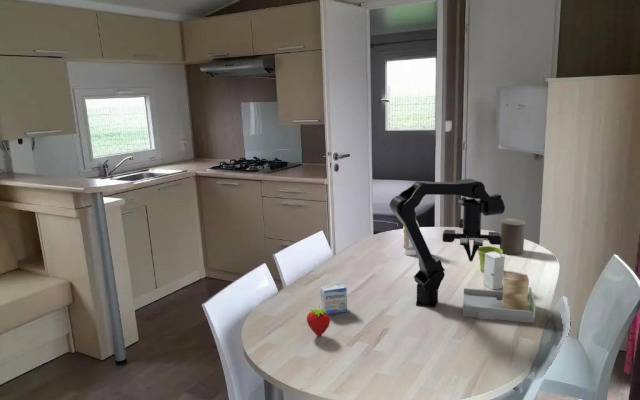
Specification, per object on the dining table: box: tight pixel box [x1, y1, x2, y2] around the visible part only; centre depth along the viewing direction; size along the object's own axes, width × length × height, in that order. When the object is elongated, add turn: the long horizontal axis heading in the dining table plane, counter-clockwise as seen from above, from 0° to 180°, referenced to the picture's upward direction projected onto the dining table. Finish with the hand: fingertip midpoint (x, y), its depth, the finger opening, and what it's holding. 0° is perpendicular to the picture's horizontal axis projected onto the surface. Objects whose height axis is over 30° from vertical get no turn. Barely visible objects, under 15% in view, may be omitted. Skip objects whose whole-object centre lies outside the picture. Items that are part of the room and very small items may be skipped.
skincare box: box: [482, 252, 506, 290], centre depth 173 cm, size 6×4×12 cm
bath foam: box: [402, 219, 420, 256], centre depth 210 cm, size 7×7×20 cm
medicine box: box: [320, 283, 348, 316], centre depth 159 cm, size 8×4×9 cm, turn 105°
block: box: [502, 272, 530, 311], centre depth 153 cm, size 7×5×10 cm
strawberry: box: [306, 305, 331, 337], centre depth 143 cm, size 6×8×10 cm
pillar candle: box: [499, 218, 526, 256], centre depth 207 cm, size 10×10×15 cm
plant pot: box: [476, 245, 503, 273], centre depth 188 cm, size 9×9×9 cm
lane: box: [462, 286, 537, 324], centre depth 155 cm, size 21×14×6 cm, turn 73°
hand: (470, 261), depth 164 cm, fingers closed
